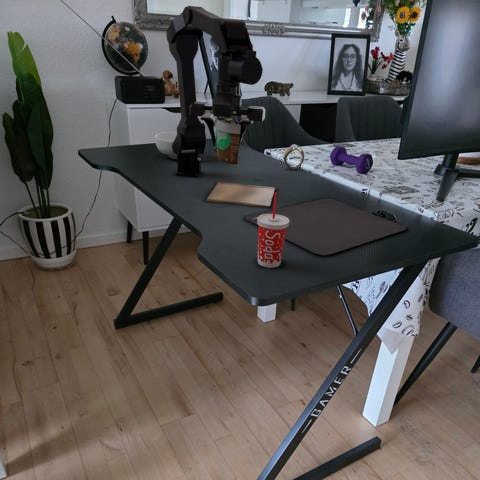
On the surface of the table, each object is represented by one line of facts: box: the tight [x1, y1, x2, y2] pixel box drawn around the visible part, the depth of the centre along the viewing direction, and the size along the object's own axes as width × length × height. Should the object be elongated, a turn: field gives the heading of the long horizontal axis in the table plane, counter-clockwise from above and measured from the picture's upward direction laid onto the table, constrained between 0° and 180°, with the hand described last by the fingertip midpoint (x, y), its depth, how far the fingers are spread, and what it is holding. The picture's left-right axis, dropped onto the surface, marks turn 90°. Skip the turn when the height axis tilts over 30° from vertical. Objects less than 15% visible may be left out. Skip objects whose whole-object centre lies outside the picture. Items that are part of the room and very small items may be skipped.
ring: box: [283, 143, 305, 170], centre depth 151 cm, size 7×3×8 cm, turn 100°
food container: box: [214, 116, 240, 165], centre depth 117 cm, size 12×6×10 cm, turn 6°
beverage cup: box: [257, 192, 290, 269], centre depth 86 cm, size 6×6×14 cm
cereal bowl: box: [154, 130, 177, 160], centre depth 156 cm, size 17×17×7 cm
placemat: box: [206, 181, 276, 209], centre depth 126 cm, size 17×17×1 cm
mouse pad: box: [244, 198, 407, 257], centre depth 110 cm, size 32×27×1 cm
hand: (226, 146), depth 119 cm, fingers closed on food container, 6 cm apart
